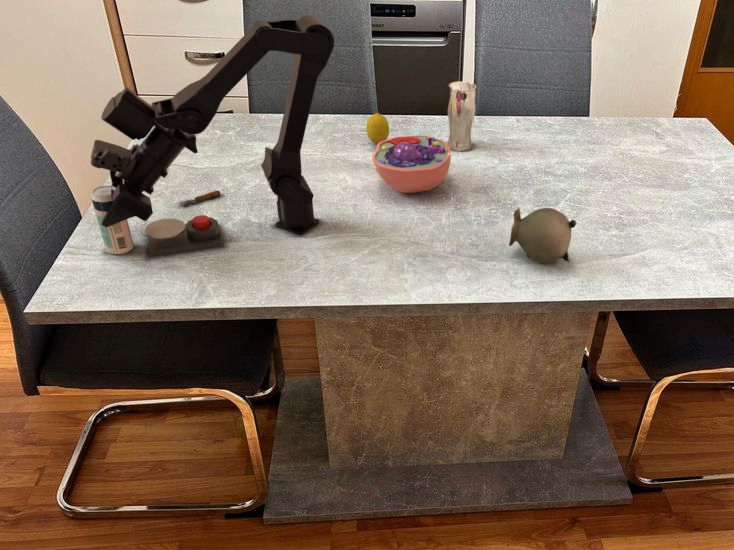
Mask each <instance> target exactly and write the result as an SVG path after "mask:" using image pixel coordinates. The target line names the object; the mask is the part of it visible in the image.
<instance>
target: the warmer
mask: <svg viewBox="0 0 734 550" xmlns="http://www.w3.org/2000/svg"><path fill="white" fill-rule="evenodd" d="M209 221H210V227H208V228H206V229H195V228H194V225H193V218H192V219H190V220H188V221H187V222H186V223H185V225H186V229H185V231H184V232H183V233H181V234H180V235H178V236H175V237H171V238H165V239H158V238H152V237H150V236H148V235H147V234H146V237H147V243H148V252H149V256H150V258H154V257H156V258H157V257H162V256H169V255H170V256H171V255H175V254H183V253H190V252H197V251H204V250H211V249H219V248H224V241H223V238H222V233H221V231H220V230H221V229H220V225H219V221H218V220H217V219H216V218H214V217H209Z"/></svg>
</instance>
